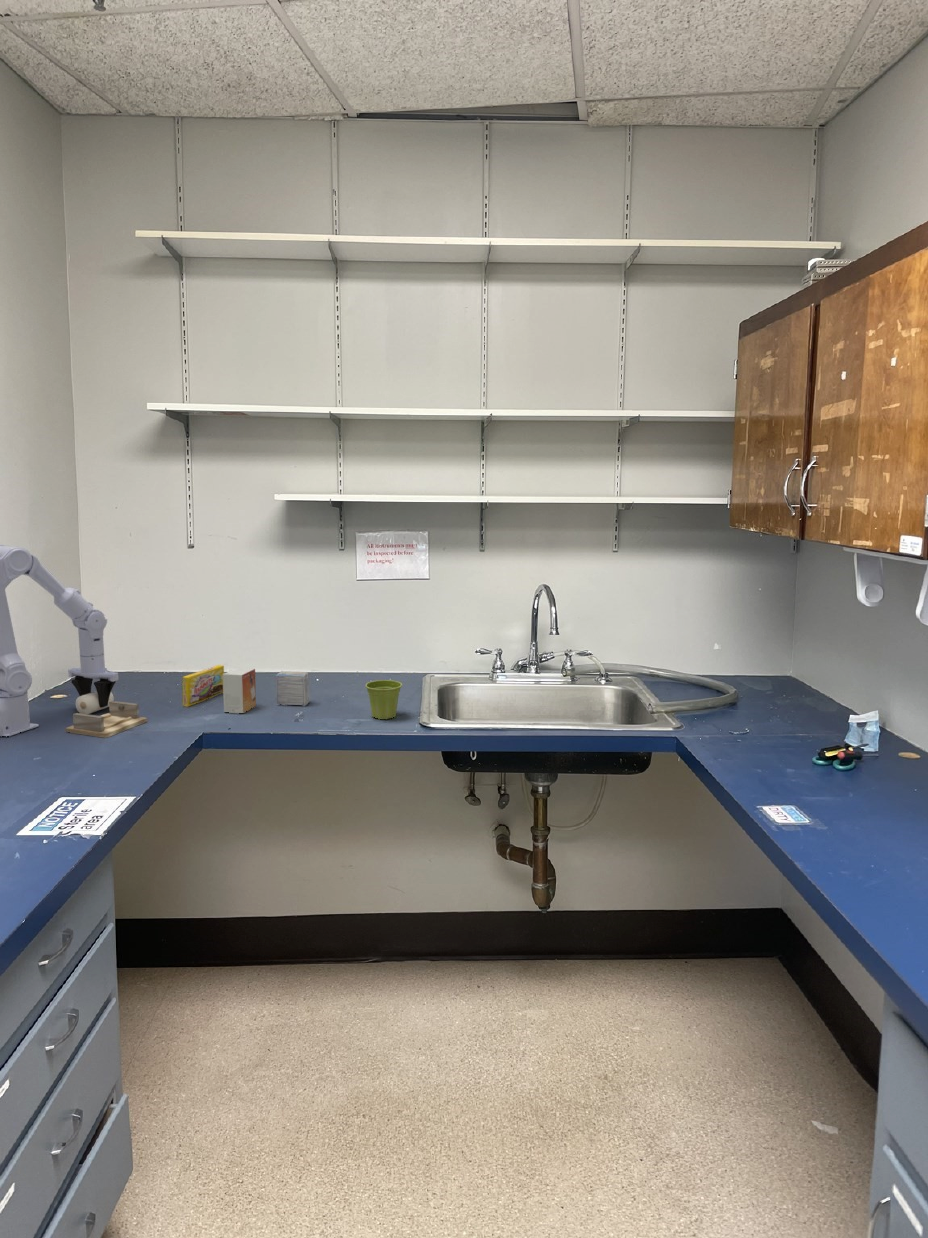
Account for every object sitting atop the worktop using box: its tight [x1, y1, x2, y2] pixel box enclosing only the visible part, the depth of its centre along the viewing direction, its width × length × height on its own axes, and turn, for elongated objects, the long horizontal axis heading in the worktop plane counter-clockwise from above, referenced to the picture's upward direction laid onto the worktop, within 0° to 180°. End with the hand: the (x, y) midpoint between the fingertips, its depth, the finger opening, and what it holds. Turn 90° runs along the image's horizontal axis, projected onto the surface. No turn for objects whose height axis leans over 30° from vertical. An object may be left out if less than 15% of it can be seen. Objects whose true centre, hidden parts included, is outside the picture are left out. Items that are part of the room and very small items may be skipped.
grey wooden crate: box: [275, 670, 310, 706], centre depth 221 cm, size 8×4×9 cm, turn 84°
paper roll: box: [75, 690, 115, 715], centre depth 212 cm, size 8×5×5 cm, turn 161°
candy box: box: [182, 664, 225, 708], centre depth 225 cm, size 16×2×8 cm, turn 161°
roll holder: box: [65, 700, 148, 739], centre depth 199 cm, size 14×12×4 cm
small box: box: [222, 667, 257, 714], centre depth 215 cm, size 8×6×10 cm
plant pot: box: [365, 679, 403, 720], centre depth 211 cm, size 9×9×9 cm
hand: (95, 705), depth 213 cm, fingers closed on paper roll, 5 cm apart
